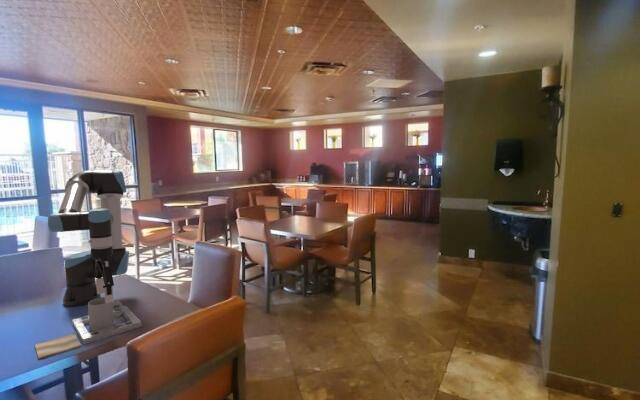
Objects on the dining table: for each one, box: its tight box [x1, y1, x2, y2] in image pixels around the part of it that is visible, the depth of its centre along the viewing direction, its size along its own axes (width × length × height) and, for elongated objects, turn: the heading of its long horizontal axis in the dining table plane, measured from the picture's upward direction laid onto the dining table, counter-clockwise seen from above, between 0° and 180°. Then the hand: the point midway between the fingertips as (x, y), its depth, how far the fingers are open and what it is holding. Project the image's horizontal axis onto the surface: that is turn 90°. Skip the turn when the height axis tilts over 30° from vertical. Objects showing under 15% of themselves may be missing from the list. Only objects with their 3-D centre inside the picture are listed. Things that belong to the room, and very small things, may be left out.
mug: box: [87, 296, 124, 332], centre depth 139 cm, size 12×8×11 cm
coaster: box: [34, 332, 82, 360], centre depth 124 cm, size 12×12×1 cm
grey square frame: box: [71, 305, 143, 345], centre depth 140 cm, size 22×20×2 cm
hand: (104, 297), depth 138 cm, fingers open, 13 cm apart
